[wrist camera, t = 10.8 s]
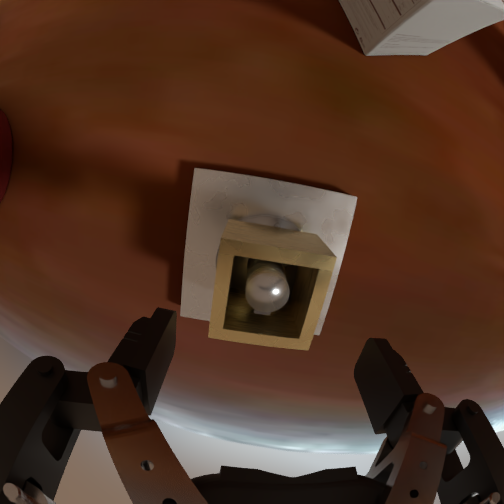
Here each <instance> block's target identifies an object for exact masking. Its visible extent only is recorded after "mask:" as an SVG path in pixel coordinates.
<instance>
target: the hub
mask: <svg viewBox="0 0 504 504" xmlns="http://www.w3.org/2000/svg"><path fill="white" fill-rule="evenodd" d="M235 256H242V257H248V258H254V259H260V260H266V261H273V262H279V263H285V264H291V265H298V270H297V274H296V278H295V282H294V286H293V290H292V294H291V298H290V301H287V302H286V304H285V305H284V306H283V307H282V308H280V309H278V310H276V311H274V312H271V314H270V315H263V314H256V313H254V308H253V307H251V306H250V305H249V303H248V301H247V299H246V295H245V294H240V293H234V292H229V291H230V284H231V278H232V272H233V265H234V259H235ZM336 259H337V257H336V256H335V255H334V253H333V252H332V251H331V250H330V249H329V248H328V246H327V245H326V244H325V243H324V242H323V241H322V239H321V238H320V237H319V236H318V235H317V234H313V233H308V232H302V231H297V230H291V229H286V228H280V227H274V226H268V225H262V224H256V223H250V222H244V221H238V220H232V219H229V220H228V222H227V225H226V227H225V229H224V232H223V234H222V236H221V240H220V247H219V254H218V262H217V269H216V277H215V284H214V292H213V300H212V309H211V317H210V326H209V334H208V337H209V338H215V339H221V340H227V341H234V342H241V343H248V344H255V345H263V346H271V347H280V348H289V349H299V350H309V347H310V344H311V341H312V338H313V335H314V332H315V329H316V326H317V323H318V320H319V317H320V313H321V310H322V307H323V304H324V301H325V297H326V294H327V291H328V287H329V284H330V280H331V277H332V273H333V270H334V266H335V262H336Z"/></svg>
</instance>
